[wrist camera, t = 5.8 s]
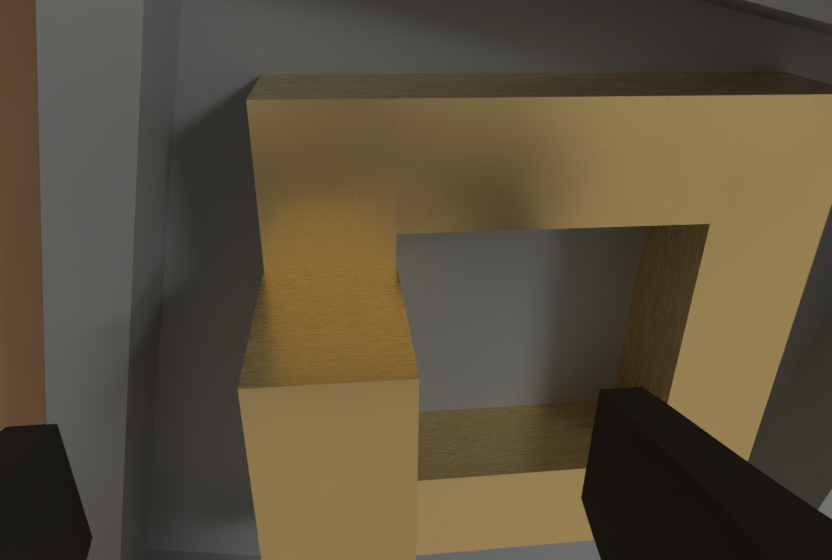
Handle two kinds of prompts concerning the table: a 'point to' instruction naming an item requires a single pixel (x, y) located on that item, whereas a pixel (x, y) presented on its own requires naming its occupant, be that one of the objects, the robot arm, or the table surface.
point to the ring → (499, 211)
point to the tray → (415, 253)
